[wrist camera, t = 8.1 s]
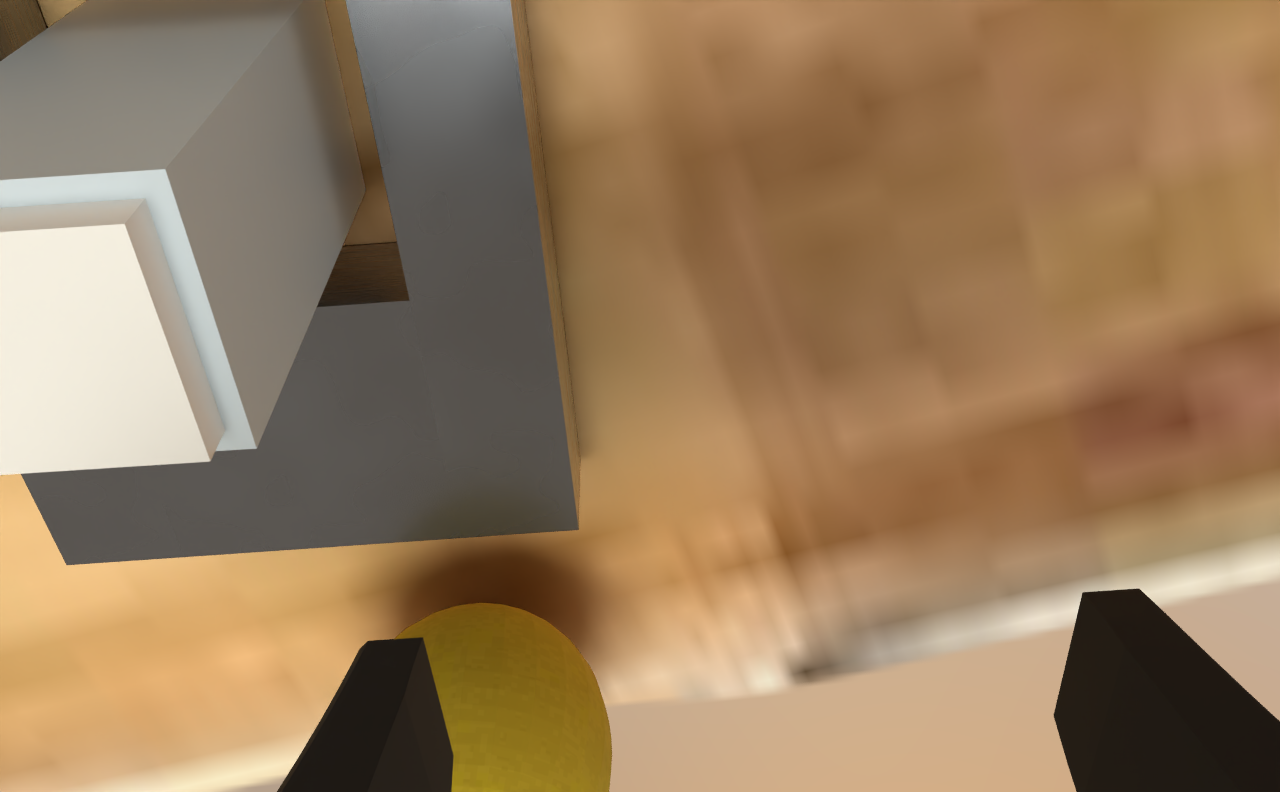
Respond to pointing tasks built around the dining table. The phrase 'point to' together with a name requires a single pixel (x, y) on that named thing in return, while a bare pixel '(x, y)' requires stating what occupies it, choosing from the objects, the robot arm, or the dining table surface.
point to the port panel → (389, 334)
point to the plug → (164, 225)
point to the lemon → (516, 702)
